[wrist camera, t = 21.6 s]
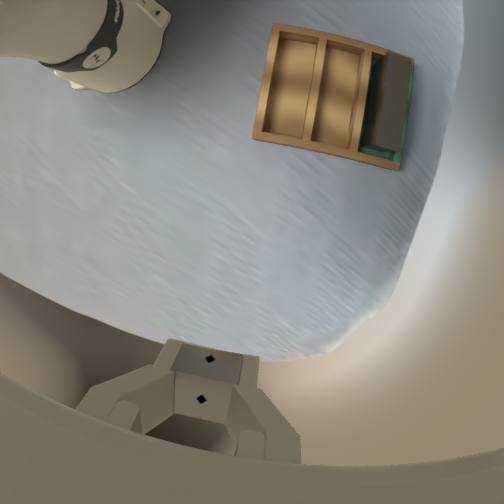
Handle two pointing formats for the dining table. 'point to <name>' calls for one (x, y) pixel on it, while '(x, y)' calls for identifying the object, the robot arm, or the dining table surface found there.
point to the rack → (320, 94)
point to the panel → (387, 103)
